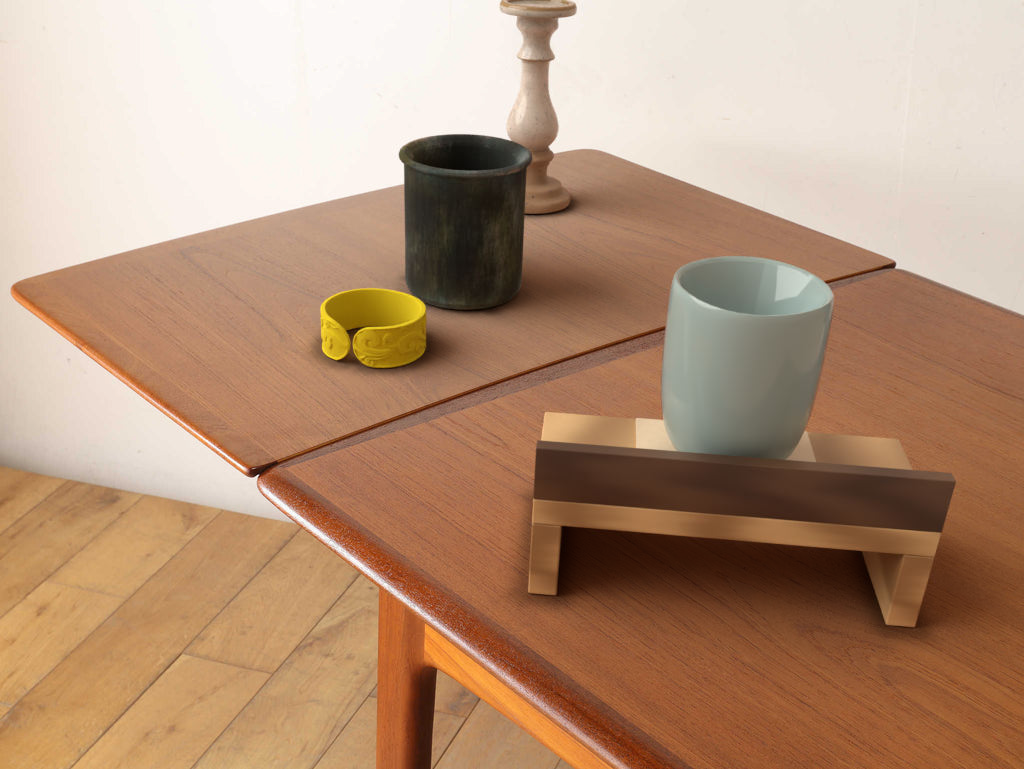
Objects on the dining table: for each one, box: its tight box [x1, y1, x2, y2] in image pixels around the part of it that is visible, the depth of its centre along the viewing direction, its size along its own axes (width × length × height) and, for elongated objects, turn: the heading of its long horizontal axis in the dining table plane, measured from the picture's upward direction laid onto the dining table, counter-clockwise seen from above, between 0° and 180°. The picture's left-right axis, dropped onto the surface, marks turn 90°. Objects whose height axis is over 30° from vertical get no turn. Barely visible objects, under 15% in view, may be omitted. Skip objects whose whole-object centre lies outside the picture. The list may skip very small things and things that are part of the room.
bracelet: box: [319, 287, 427, 369], centre depth 80 cm, size 7×8×3 cm
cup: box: [660, 255, 835, 460], centre depth 54 cm, size 8×8×10 cm
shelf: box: [527, 411, 957, 628], centre depth 57 cm, size 20×9×9 cm, turn 85°
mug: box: [398, 133, 532, 311], centre depth 90 cm, size 11×15×12 cm
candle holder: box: [498, 0, 578, 215], centre depth 108 cm, size 9×9×20 cm
